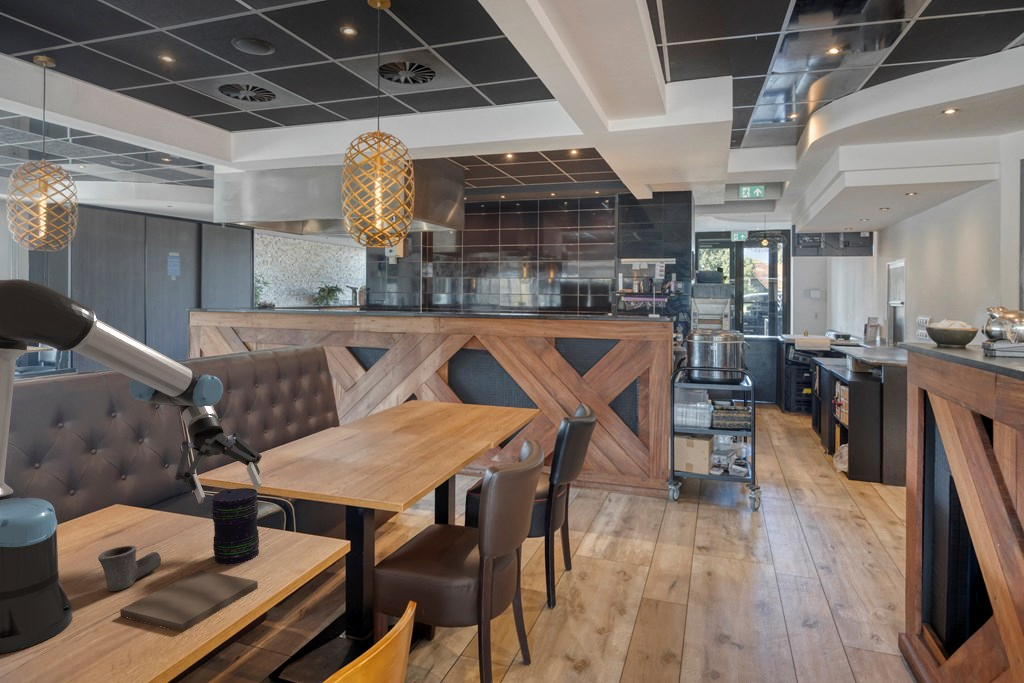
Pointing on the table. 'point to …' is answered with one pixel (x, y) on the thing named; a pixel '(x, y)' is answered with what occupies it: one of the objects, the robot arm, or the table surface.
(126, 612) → the walnut serving board
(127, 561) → the pipe
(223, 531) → the navy cylinder
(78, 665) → the table surface
